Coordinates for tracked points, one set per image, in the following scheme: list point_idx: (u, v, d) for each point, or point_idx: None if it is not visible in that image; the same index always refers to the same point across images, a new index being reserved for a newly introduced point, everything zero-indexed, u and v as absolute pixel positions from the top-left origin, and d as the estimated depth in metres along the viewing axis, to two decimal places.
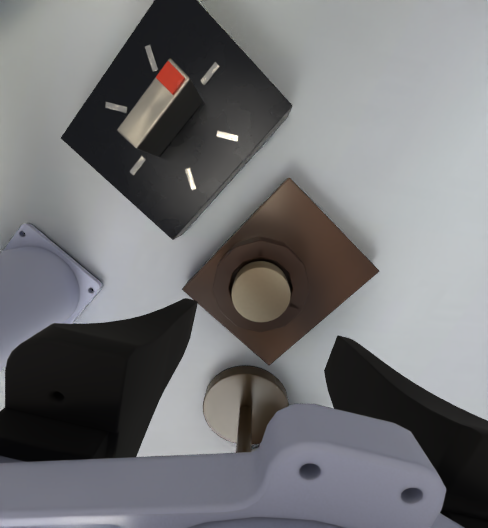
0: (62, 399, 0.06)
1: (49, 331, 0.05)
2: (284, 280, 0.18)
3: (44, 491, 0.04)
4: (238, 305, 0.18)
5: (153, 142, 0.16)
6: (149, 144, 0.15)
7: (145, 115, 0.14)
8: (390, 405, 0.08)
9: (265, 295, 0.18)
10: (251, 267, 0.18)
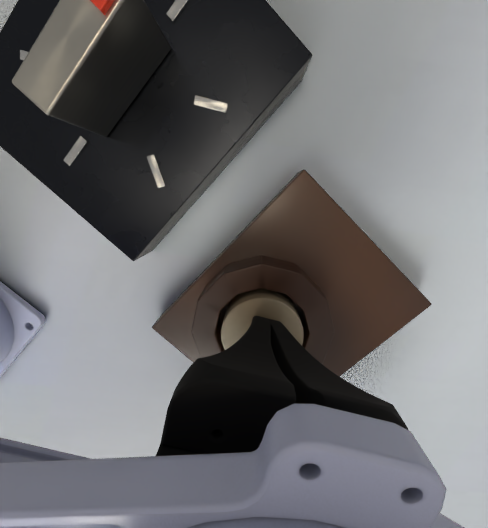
0: (219, 436, 0.06)
1: (209, 369, 0.06)
2: (295, 316, 0.12)
3: (44, 491, 0.04)
4: None
5: (85, 108, 0.09)
6: (77, 111, 0.09)
7: (58, 54, 0.08)
8: None
9: None
10: (248, 297, 0.13)
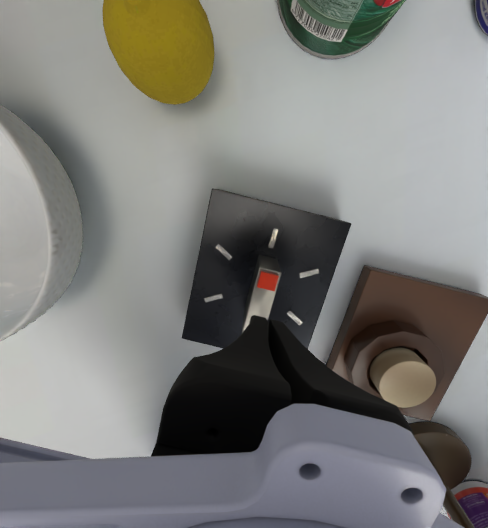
0: (215, 435, 0.06)
1: (205, 368, 0.06)
2: (423, 364, 0.19)
3: (44, 491, 0.04)
4: (391, 401, 0.20)
5: None
6: None
7: (259, 313, 0.17)
8: (285, 380, 0.08)
9: (411, 383, 0.19)
10: (386, 365, 0.19)
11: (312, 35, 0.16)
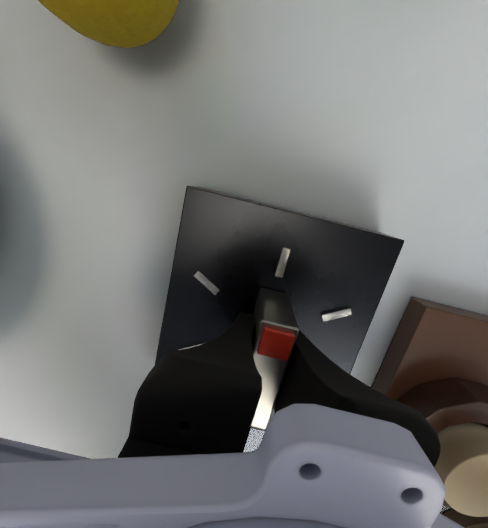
0: (187, 429, 0.06)
1: (176, 362, 0.06)
2: None
3: (44, 491, 0.04)
4: (461, 508, 0.13)
5: None
6: None
7: (261, 393, 0.10)
8: (304, 384, 0.08)
9: None
10: (455, 457, 0.13)
11: None
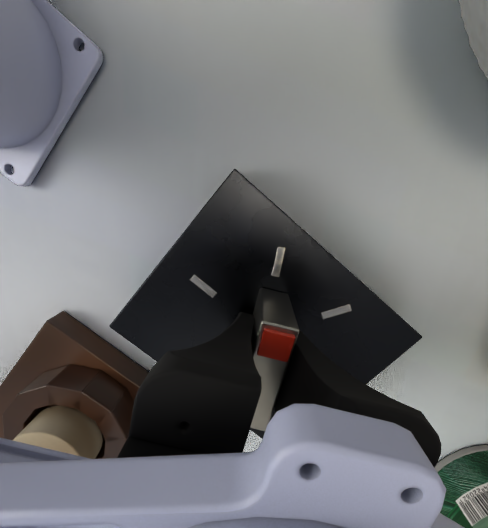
0: (187, 428, 0.06)
1: (176, 361, 0.06)
2: None
3: (44, 491, 0.04)
4: (22, 441, 0.13)
5: None
6: None
7: (261, 394, 0.10)
8: (304, 384, 0.08)
9: None
10: (82, 447, 0.13)
11: (477, 481, 0.16)
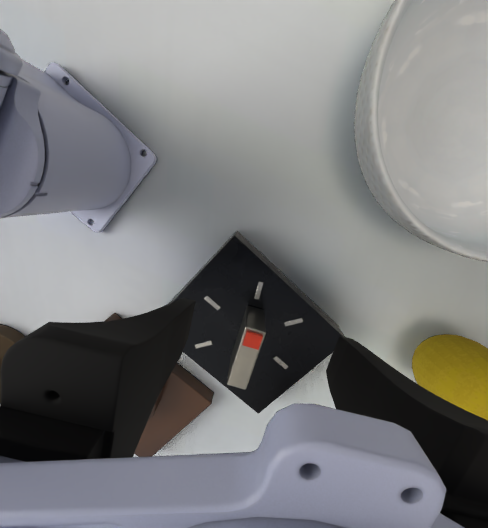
0: (58, 398, 0.06)
1: (43, 330, 0.05)
2: None
3: (44, 491, 0.04)
4: None
5: None
6: None
7: (243, 367, 0.18)
8: (393, 406, 0.08)
9: None
10: None
11: None
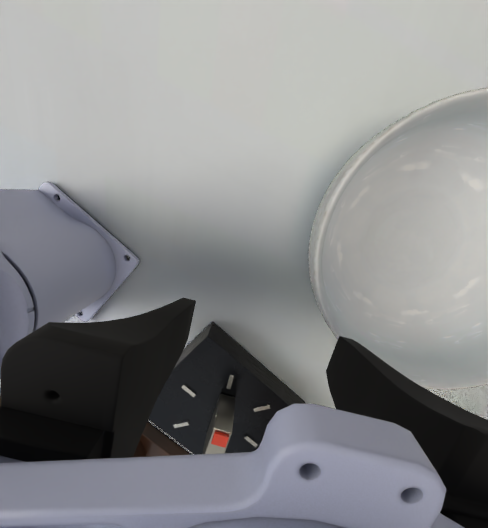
0: (58, 398, 0.06)
1: (44, 330, 0.05)
2: None
3: (44, 491, 0.04)
4: None
5: None
6: None
7: None
8: (393, 406, 0.08)
9: None
10: None
11: None
